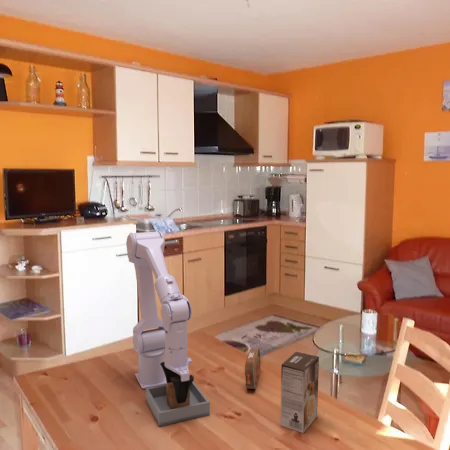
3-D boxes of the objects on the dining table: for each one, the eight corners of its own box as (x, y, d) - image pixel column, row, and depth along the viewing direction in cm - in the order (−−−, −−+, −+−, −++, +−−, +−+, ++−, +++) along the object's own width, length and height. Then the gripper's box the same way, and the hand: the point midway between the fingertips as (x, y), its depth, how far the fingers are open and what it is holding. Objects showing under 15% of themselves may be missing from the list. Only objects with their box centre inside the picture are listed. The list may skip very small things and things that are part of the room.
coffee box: (294, 408, 117) (296, 350, 115) (317, 416, 114) (320, 356, 112) (279, 426, 109) (280, 363, 107) (304, 434, 106) (306, 370, 104)
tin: (254, 394, 124) (254, 365, 123) (243, 393, 125) (243, 364, 124) (261, 370, 139) (261, 344, 138) (251, 369, 140) (251, 343, 139)
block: (166, 402, 118) (166, 383, 117) (184, 399, 120) (184, 379, 120) (171, 410, 115) (171, 390, 114) (189, 406, 117) (189, 386, 116)
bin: (145, 400, 121) (145, 388, 120) (192, 391, 126) (191, 379, 126) (159, 426, 109) (159, 413, 108) (209, 414, 114) (209, 402, 114)
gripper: (200, 353, 110) (201, 405, 112) (182, 333, 123) (182, 380, 125) (173, 358, 107) (174, 411, 109) (157, 337, 120) (157, 385, 122)
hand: (176, 395), depth 117 cm, fingers open, 7 cm apart
